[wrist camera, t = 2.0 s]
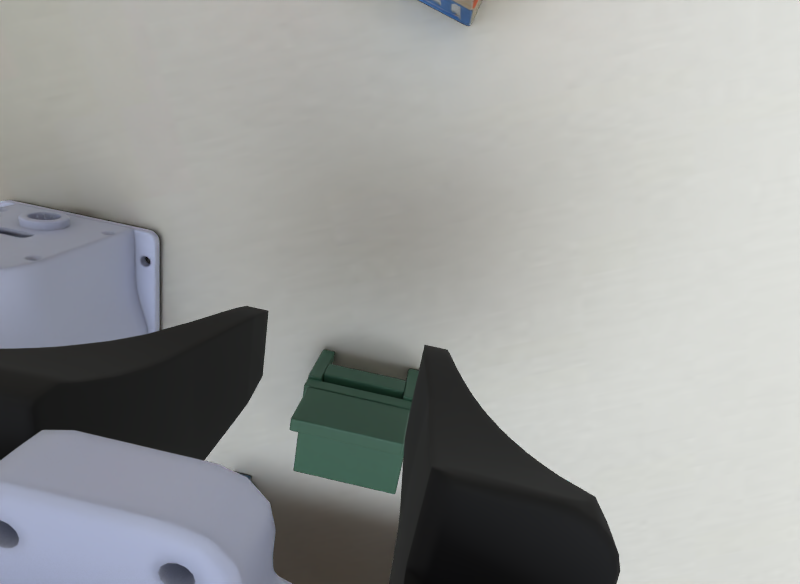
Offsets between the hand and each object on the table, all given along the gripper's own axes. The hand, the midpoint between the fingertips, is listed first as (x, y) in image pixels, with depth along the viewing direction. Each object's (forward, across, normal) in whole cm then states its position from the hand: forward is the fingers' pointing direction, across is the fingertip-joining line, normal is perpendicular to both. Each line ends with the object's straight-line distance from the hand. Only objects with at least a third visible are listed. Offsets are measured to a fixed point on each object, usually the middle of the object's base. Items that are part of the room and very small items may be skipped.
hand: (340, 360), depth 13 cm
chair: (+10, 0, +8) cm, 13 cm away
